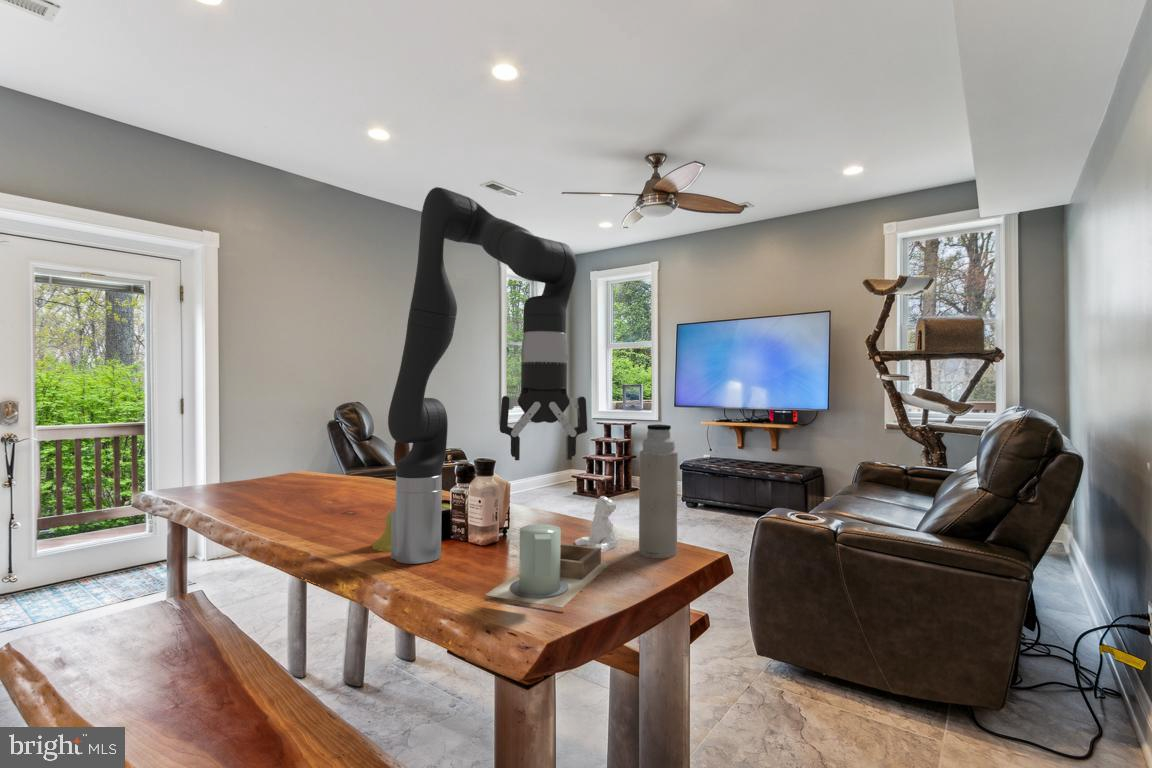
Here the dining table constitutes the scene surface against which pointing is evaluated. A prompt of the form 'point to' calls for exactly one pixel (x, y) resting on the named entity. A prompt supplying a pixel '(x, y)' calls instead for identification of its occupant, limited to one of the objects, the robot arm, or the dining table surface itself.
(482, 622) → the dining table surface
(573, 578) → the jug stand
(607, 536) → the seated beast figurine
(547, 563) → the sage jug
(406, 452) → the handbell
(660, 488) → the thermos bottle
